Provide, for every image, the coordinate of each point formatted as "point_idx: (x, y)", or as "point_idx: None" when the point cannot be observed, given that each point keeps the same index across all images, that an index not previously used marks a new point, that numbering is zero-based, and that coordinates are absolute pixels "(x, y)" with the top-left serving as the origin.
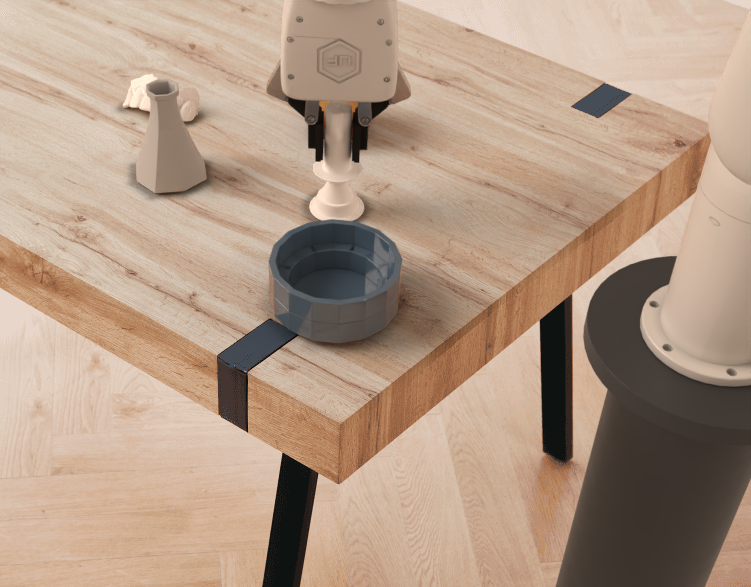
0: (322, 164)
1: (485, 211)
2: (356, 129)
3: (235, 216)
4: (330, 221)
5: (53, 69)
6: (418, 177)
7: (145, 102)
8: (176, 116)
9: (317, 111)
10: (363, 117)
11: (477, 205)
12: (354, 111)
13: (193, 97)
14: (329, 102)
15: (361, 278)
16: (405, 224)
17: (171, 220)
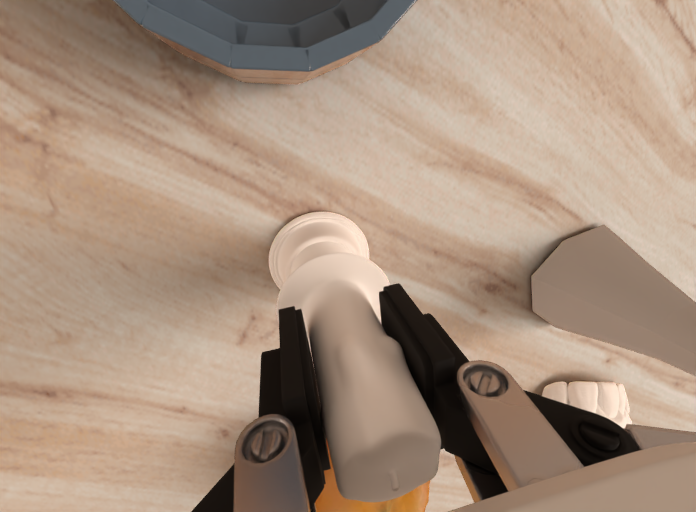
0: (372, 306)
1: (15, 321)
2: (298, 391)
3: (486, 198)
4: (315, 53)
5: (674, 416)
6: (193, 374)
7: (615, 393)
8: (687, 340)
9: (483, 418)
10: (275, 454)
11: (42, 333)
12: (332, 472)
13: None
14: None
15: (210, 2)
16: (175, 243)
17: (582, 166)
